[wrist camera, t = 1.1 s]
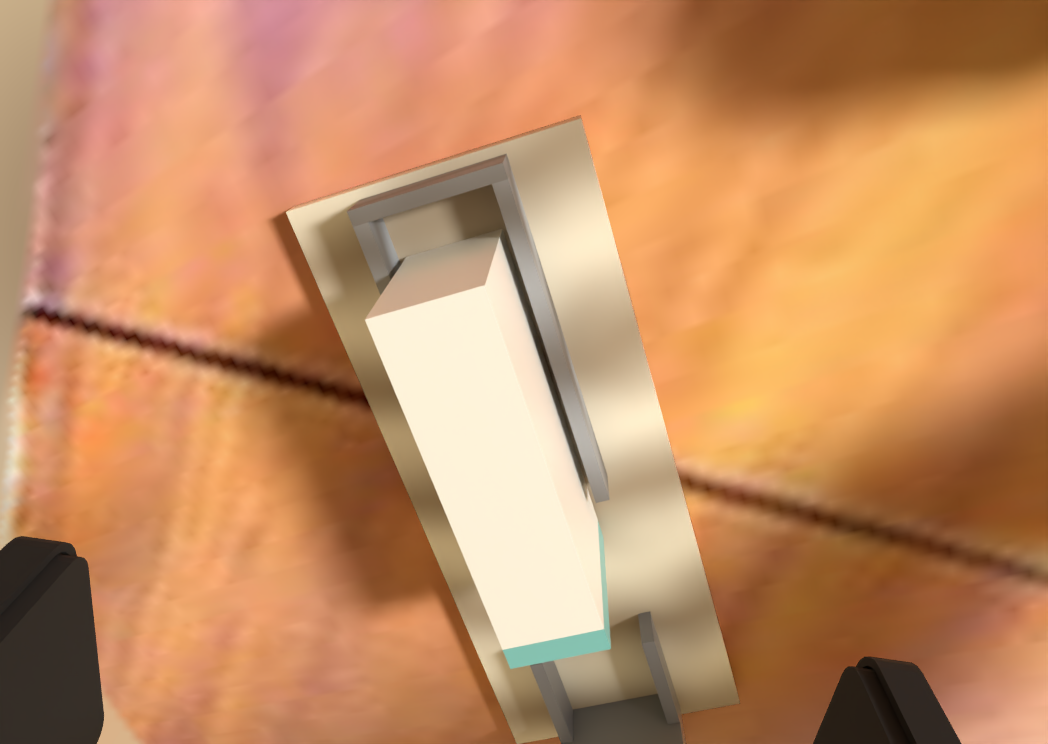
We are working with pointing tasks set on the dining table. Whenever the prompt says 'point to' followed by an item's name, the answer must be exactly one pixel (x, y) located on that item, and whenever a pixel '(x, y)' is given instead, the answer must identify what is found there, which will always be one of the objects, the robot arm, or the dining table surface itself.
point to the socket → (618, 705)
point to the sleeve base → (581, 386)
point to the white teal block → (496, 445)
